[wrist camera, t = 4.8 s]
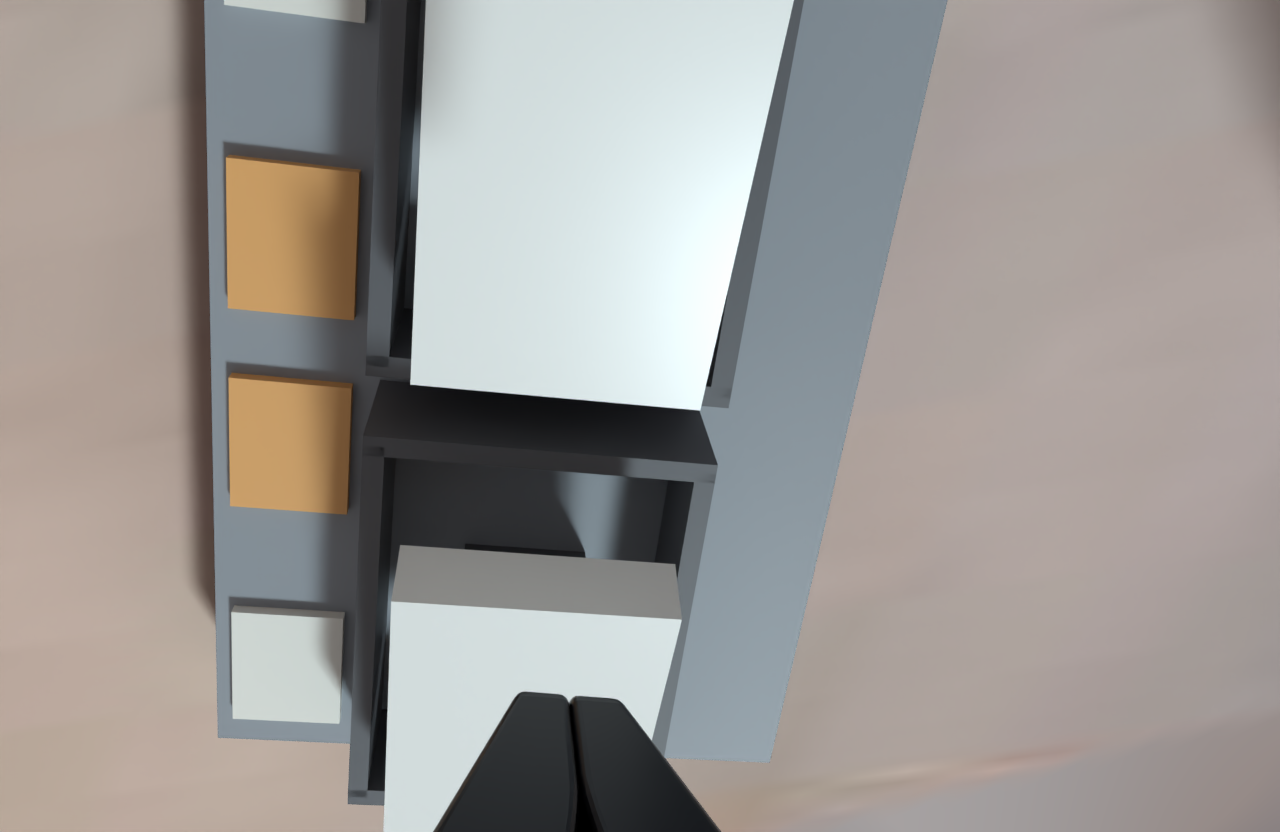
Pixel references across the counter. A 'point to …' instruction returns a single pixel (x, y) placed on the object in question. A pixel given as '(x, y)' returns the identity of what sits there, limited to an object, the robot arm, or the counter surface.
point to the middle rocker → (585, 191)
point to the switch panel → (513, 423)
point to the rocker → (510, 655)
